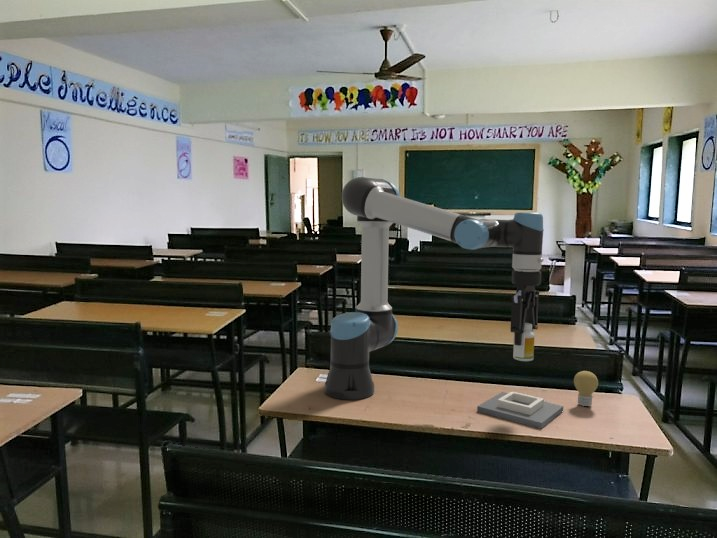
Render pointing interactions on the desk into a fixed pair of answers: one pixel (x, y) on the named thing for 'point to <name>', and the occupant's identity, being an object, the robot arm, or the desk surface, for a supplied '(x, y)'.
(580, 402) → the light bulb
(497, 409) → the holder board
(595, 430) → the desk surface
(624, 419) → the desk surface
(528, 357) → the supplement bottle
